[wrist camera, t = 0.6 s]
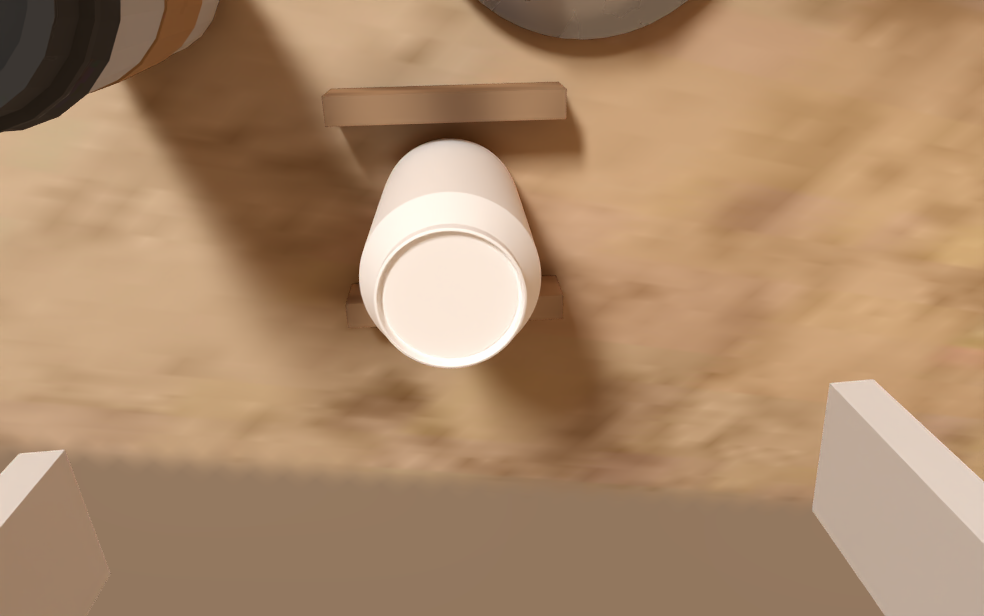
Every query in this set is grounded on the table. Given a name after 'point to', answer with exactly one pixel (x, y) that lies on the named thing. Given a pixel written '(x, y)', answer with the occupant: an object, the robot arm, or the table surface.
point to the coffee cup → (84, 49)
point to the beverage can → (450, 256)
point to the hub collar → (582, 15)
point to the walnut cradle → (448, 108)
